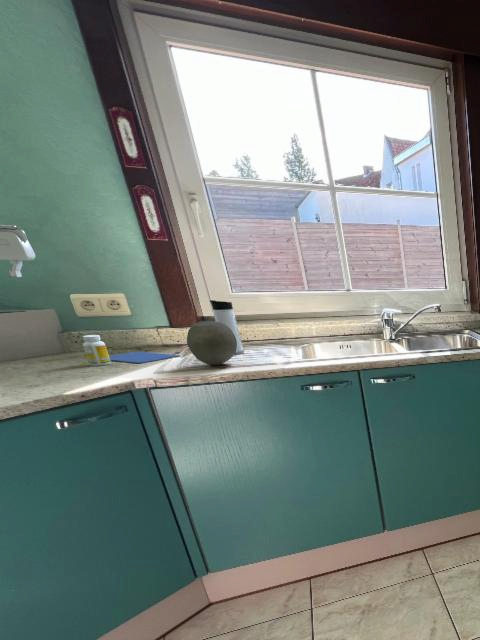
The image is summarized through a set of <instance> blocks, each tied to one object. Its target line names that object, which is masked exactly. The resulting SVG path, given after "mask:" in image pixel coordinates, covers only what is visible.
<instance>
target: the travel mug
mask: <svg viewBox="0 0 480 640" xmlns="http://www.w3.org/2000/svg"><path fill="white" fill-rule="evenodd" d="M209 302H210V304H211V307H212V312H213V317H214V321H217V322H221V323H223V324H225V325H227V326H228V327H229V328H230V329H231V330H232V332H233V333H234V335H235V337H236V341H237V349H236V352H235V354H234V355H233V356H238V355H243V354H244V348H243V343H242V339H241V335H240V331H239V327H238V323H237V318H236V314H235V310H234V307H233V302H232V301H221V300H214V299H210V300H209Z"/></svg>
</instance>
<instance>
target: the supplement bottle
mask: <svg viewBox="0 0 480 640" xmlns="http://www.w3.org/2000/svg"><path fill="white" fill-rule="evenodd" d="M82 338H83V341H84V342H83V344H82V347H83V350H84V352H85V356H86V358H87V361H88V364H89V366H92V367H99V366H100V367H101V366H109V365H111V363H112V361H111V360H110V357H109V356H110V354H109V352H108V351H109V350H108V348H107V345H106V343H105V342H104V341H101V339H102V338H101V336H100V335H99V334H89V335H83V336H82Z"/></svg>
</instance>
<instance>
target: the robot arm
mask: <svg viewBox="0 0 480 640" xmlns="http://www.w3.org/2000/svg"><path fill="white" fill-rule="evenodd" d="M36 256H37V255H36V253H35V251H34V249H33V247H32V245H31V243H30V242H29V240H28V237H27V234H26V232H25V231H24V230H23V229H22V228H20V227H18V226H16V225H13V224H12V225H11V224H10V225H7V224H0V261H1V260H2V261H8V262H9V263H10V265H12V268H11V270H8V273H9V276H10V277H12V278H23V275H22V272H21V271H22V267H23V265H24V264H23V261H35V260H36Z"/></svg>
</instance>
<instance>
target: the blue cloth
mask: <svg viewBox="0 0 480 640" xmlns="http://www.w3.org/2000/svg"><path fill="white" fill-rule="evenodd" d="M179 356H180V357H181V355H178V354H168V353H158V352H149V351H132V352H127V353H120V354H114V355H109V357H110V360H111V362H118V363H126V364H127V363H128V364H137V365H140V364H146V363H152V362H157V361H162V360H163V359H164V360H169V359H173V358H172V357H175V358H180V357H179ZM168 358H169V359H168ZM164 360H163V361H164Z"/></svg>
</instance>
